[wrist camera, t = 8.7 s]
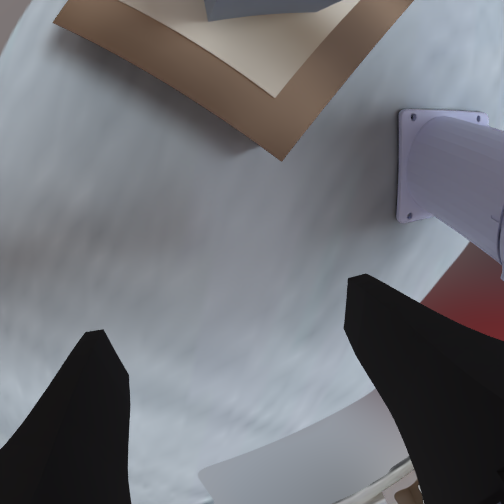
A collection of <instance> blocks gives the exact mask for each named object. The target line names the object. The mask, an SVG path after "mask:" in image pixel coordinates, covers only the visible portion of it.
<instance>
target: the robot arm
mask: <svg viewBox="0 0 504 504" xmlns="http://www.w3.org/2000/svg"><path fill="white" fill-rule="evenodd" d="M411 114H412V115H413V118H412V120H411V118H410V117H411ZM409 213H410V214H409ZM408 214H409V216H408ZM407 216H408V217H407ZM434 216H435V217H436V218H438V219H439V220H441V221H442V222H444V223H445V224H447V225H448V226H450V227H451V228H452V229H454V230H455V231H457V232H458V233H460V234H461V235H462V236H464V237H465V238H467V239H468V240H469V241H471V242H472V243H473V244H475V245H476V246H478V247H479V248H480V249H482V250H483V251H484V252H485V253H487V254H488V255H489V256H491V257H492V258H493V259H495V260H496V261H497V262H498V263H500V264H501V265H502V266H503V269H502V274H501V279H502V280H503V281H504V131H502V130H499V129H496V128H492V127H489V117H488V115H487V114H486V113H483V112H472V111H457V110H433V109H403V110H401V111H400V113H399V175H398V199H397V215H396V218H397V220H398V221H399V222H400V223H408V222H412V221H417V220H421V219H425V218H430V217H434ZM344 330H345V332H346V335H347V337H348V339H349V342H350V344H351V346H352V348H353V350H354V352H355V355H356V356H357V358H358V360H359V361H360V363H361V365H362V366H363V368H364V370H365V371H366V373H367V375H368V376H369V378H370V379H371V381H372V383H373V384H374V386H375V388H376V389H377V391H378V392H379V394H380V396H381V397H382V399H383V401H384V402H385V404H386V406H387V407H388V409H389V411H390V412H391V414H392V416H393V418H394V420H395V422H396V425H397V427H398V429H399V432H400V434H401V436H402V438H403V441H404V443H405V446H406V448H407V451H408V453H409V456H410V459H411V461H412V464H413V467H414V470H415V473H416V476H417V479H418V482H419V485H420V488H421V492H422V496H423V500H424V504H504V341H501V340H498V339H496V338H493V337H490V336H487V335H485V334H482V333H480V332H478V331H475V330H473V329H470V328H468V327H466V326H463V325H461V324H459V323H457V322H455V321H453V320H451V319H449V318H447V317H445V316H443V315H441V314H439V313H437V312H435V311H433V310H431V309H429V308H428V307H426V306H424V305H422V304H420V303H419V302H417V301H415V300H413V299H411V298H410V297H408V296H406V295H404V294H403V293H401V292H399V291H397V290H396V289H394V288H392V287H390V286H389V285H387V284H385V283H383V282H381V281H380V280H378V279H376V278H374V277H372V276H370V275H368V274H362V275H358V276H355V277H351V278H348V286H347V299H346V311H345V322H344ZM129 420H130V388H129V374H128V373H127V371H126V369H125V368H124V366H123V364H122V362H121V361H120V359H119V357H118V355H117V354H116V352H115V350H114V348H113V346H112V345H111V343H110V341H109V339H108V337H107V335H106V333H105V331H104V329H103V330H97V331H90V332H85V334H84V335H83V336H82V338H81V339H80V340H79V342H78V343H77V344H76V346H75V347H74V349H73V350H72V352H71V353H70V355H69V356H68V358H67V359H66V361H65V362H64V364H63V365H62V367H61V368H60V370H59V371H58V373H57V374H56V376H55V377H54V379H53V380H52V382H51V383H50V385H49V386H48V388H47V389H46V391H45V392H44V393H43V395H42V396H41V398H40V399H39V401H38V402H37V403H36V405H35V406H34V408H33V409H32V411H31V412H30V414H29V415H28V416H27V418H26V419H25V420H24V422H23V423H22V424H21V426H20V427H19V428H18V429H17V431H16V432H15V433H14V434H13V436H12V437H11V438H10V439H9V440H8V442H7V443H6V444H5V445H4V446H3V447H2V448H1V449H0V504H131V498H130V491H129V483H128V441H129Z"/></svg>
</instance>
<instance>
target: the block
mask: <svg viewBox="0 0 504 504" xmlns="http://www.w3.org/2000/svg"><path fill="white" fill-rule="evenodd" d="M340 1H342V0H204V3H205V8H206V14H207V19H208V22H211V21H217V20H223V19H230V18H238V17H246V16H256V15H267V14H281V13H307V12H318V11H320V10H322V9H324V8H326V7H329V6H331V5H333V4H335V3H337V2H340Z"/></svg>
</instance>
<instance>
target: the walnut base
mask: <svg viewBox="0 0 504 504" xmlns="http://www.w3.org/2000/svg"><path fill="white" fill-rule="evenodd" d="M413 1H414V0H342V1H340V2H337V3H335V4H333V5H331V6H329V7H326V8H324V9H322V10H320V11H318V12H307V13H281V14H267V15H256V16H246V17H238V18H230V19H223V20H217V21H211V22H208V19H207V14H206V8H205V3H204V0H68V1H67V3H66V4H65V6H64V7H63V8H62V10H61V11H60V13H59V14H58V15H57V17H56V18H55V20H54V21H53V23H54V24H56V25H59V26H61V27H63V28H65V29H67V30H69V31H71V32H73V33H75V34H77V35H79V36H81V37H83V38H85V39H87V40H89V41H91V42H93V43H95V44H97V45H99V46H101V47H103V48H105V49H106V50H108V51H110V52H112V53H114V54H116V55H118V56H119V57H121V58H123V59H125V60H127V61H128V62H130V63H132V64H134V65H135V66H137V67H139V68H141V69H142V70H144V71H146V72H148V73H149V74H151V75H153V76H154V77H156V78H158V79H159V80H161V81H163V82H164V83H166V84H168V85H169V86H171V87H173V88H174V89H176V90H177V91H179V92H181V93H182V94H184V95H185V96H187V97H189V98H190V99H192V100H193V101H195V102H196V103H198V104H199V105H201V106H203V107H204V108H206V109H207V110H209V111H210V112H212V113H213V114H215V115H216V116H218V117H219V118H221V119H222V120H224V121H225V122H227V123H228V124H230V125H231V126H232V127H234V128H235V129H237V130H238V131H240V132H241V133H243V134H244V135H245V136H247V137H248V138H250V139H251V140H252V141H254V142H255V143H257V144H258V145H259V146H261V147H262V148H264V149H265V150H266V151H268V152H269V153H270V154H272V155H273V156H274V157H276V158H277V159H279V160H280V161H281V162H282V161H283V159H284V158H285V157H286V155H287V154H288V153H289V152H290V150H291V149H292V148H293V147H294V145H295V144H296V143H297V141H298V140H299V139H300V138H301V136H302V135H303V134H304V132H305V131H306V130H307V129H308V127H309V126H310V125H311V124H312V122H313V121H314V120H315V119H316V117H317V116H318V115H319V114H320V112H321V111H322V110H323V109H324V107H325V106H326V105H327V104H328V102H329V101H330V100H331V99H332V97H333V96H334V95H335V94H336V92H337V91H338V90H339V89H340V88H341V86H342V85H343V84H344V83H345V81H346V80H347V79H348V78H349V76H350V75H351V74H352V73H353V72H354V70H355V69H356V68H357V67H358V66H359V64H360V63H361V62H362V61H363V60H364V58H365V57H366V56H367V55H368V54H369V52H370V51H371V50H372V49H373V48H374V46H375V45H376V44H377V43H378V42H379V40H380V39H381V38H382V37H383V36H384V34H385V33H386V32H387V31H388V30H389V29H390V27H391V26H392V25H393V24H394V23H395V22H396V20H397V19H398V18H399V17H400V16H401V15H402V13H403V12H404V11H405V10H406V9H407V8H408V7H409V5H410V4H411V3H412V2H413Z"/></svg>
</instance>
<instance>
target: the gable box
mask: <svg viewBox="0 0 504 504" xmlns="http://www.w3.org/2000/svg"><path fill="white" fill-rule="evenodd" d="M418 485H419V482H418V479H417V476H416V473H415V470H413V471H411V472H410V473H409V474H407V475H406V476H404V477H403V478H401V479H400V480H399V481H397V482H396V483H394V484H393V485H391V486H390V487H388V488H387V489H385V490H383V491H382V493H383V495H384V498H385V500H386V502H387V504H423V497H422V493H421V492H420V490H419V488H418Z"/></svg>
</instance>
